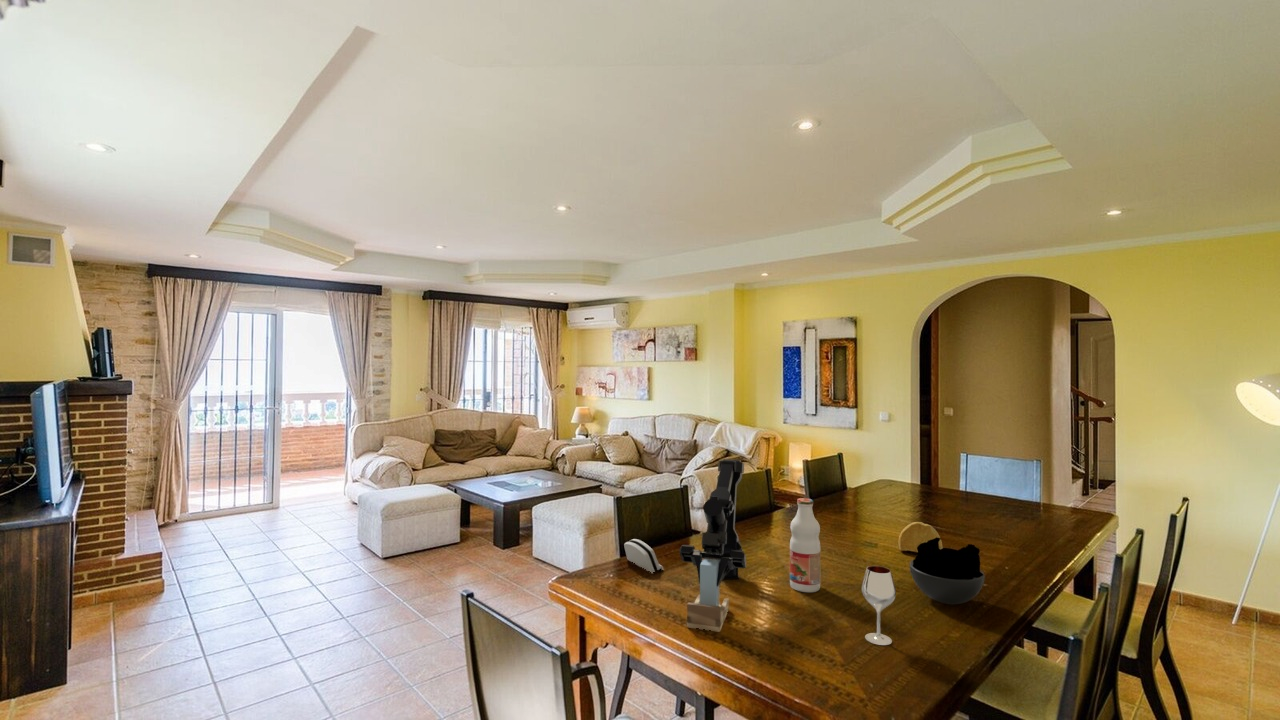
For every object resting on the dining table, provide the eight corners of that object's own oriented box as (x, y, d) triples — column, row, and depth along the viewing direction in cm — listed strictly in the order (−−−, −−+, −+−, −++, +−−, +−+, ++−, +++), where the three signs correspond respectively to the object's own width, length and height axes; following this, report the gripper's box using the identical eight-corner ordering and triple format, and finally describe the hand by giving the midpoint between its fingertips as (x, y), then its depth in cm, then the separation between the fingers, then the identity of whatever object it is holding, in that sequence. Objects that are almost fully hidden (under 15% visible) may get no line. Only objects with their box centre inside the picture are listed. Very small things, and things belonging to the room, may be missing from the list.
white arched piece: (664, 570, 198) (656, 544, 197) (653, 577, 196) (645, 551, 194) (638, 557, 212) (631, 532, 211) (628, 563, 210) (620, 539, 208)
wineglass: (856, 632, 153) (856, 564, 153) (885, 631, 153) (885, 563, 153) (870, 647, 144) (871, 575, 145) (902, 646, 145) (902, 574, 145)
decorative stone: (903, 536, 233) (895, 513, 226) (944, 537, 225) (938, 513, 218) (903, 565, 224) (894, 542, 217) (946, 567, 216) (939, 543, 209)
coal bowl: (894, 594, 179) (894, 533, 179) (940, 585, 186) (940, 527, 187) (952, 620, 160) (952, 553, 160) (1000, 609, 168) (1000, 544, 168)
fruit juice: (824, 593, 179) (824, 503, 180) (793, 593, 179) (794, 502, 180) (815, 582, 189) (815, 496, 189) (786, 581, 189) (786, 496, 189)
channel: (698, 605, 169) (698, 584, 169) (728, 609, 166) (728, 588, 167) (687, 627, 155) (687, 604, 155) (719, 632, 152) (719, 608, 153)
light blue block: (703, 602, 165) (703, 558, 165) (719, 604, 164) (719, 560, 164) (699, 609, 161) (700, 564, 161) (715, 611, 159) (716, 566, 159)
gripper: (680, 517, 169) (671, 567, 158) (745, 522, 163) (739, 575, 153) (686, 536, 177) (678, 585, 166) (748, 542, 171) (743, 593, 160)
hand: (708, 584), depth 161 cm, fingers closed on light blue block, 4 cm apart
